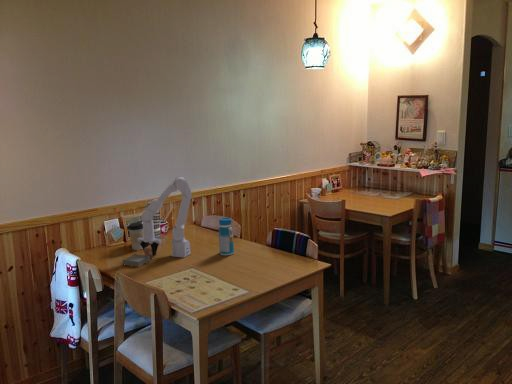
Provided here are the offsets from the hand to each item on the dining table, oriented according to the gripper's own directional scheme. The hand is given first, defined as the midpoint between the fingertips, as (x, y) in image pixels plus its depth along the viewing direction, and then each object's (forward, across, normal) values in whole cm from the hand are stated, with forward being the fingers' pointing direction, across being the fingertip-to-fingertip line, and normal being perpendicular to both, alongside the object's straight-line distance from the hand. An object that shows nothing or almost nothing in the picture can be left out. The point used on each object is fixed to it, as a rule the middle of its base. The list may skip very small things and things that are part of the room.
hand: (150, 254), depth 259 cm
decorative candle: (+2, -16, +27) cm, 31 cm away
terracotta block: (+2, 0, 0) cm, 2 cm away
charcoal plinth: (+2, -2, -10) cm, 10 cm away
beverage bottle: (+2, +38, +19) cm, 43 cm away
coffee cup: (+2, -17, +11) cm, 20 cm away
